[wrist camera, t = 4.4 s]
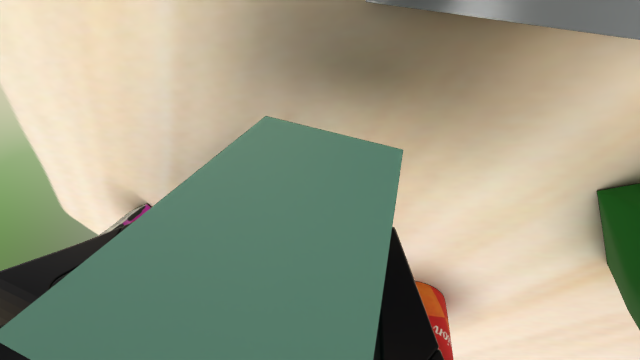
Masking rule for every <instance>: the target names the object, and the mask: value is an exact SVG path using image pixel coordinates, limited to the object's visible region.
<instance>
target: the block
mask: <svg viewBox="0 0 640 360" xmlns="http://www.w3.org/2000/svg"><path fill="white" fill-rule="evenodd" d="M402 155H403V150H402V149H398V148H394V147H390V146H386V145H382V144H378V143H374V142H370V141H365V140H361V139H357V138H353V137H349V136H345V135H341V134H337V133H333V132H329V131H325V130H321V129H317V128H313V127H309V126H304V125H300V124H296V123H292V122H288V121H284V120H280V119H276V118H272V117H268V116H265V117H264V118H263V119H261V120H260V121H259V122H258V123H256V124H255V125H254V126H253V127H251V128H250V129H249V130H248V131H246V132H245V133H244V134H243V135H241V136H240V137H239V138H238V139H236V140H235V141H234V142H233V143H231V144H230V145H229V146H228V147H226V148H225V149H224V150H223V151H221V152H220V153H219V154H218V155H216V156H215V157H214V158H213V159H212V160H210V161H209V162H208V163H207V164H205V165H204V166H203V167H202V168H200V169H199V170H198V171H197V172H195V173H194V174H193V175H192V176H190V177H189V178H188V179H187V180H185V181H184V182H183V183H182V184H180V185H179V186H178V187H177V188H175V189H174V190H173V191H172V192H170V193H169V194H168V195H167V196H165V197H164V198H163V199H162V200H160V201H159V202H158V203H157V204H155V205H154V206H153V207H152V208H150V209H149V210H148V211H147V212H145V213H144V214H143V215H142V216H140V217H139V218H138V219H137V220H135V221H134V222H133V223H132V224H130V225H129V226H128V227H127V228H125V229H124V230H123V231H122V232H120V233H119V234H118V235H117V236H115V237H114V238H113V239H112V240H110V241H109V242H108V243H107V244H105V245H104V246H103V247H102V248H100V249H99V250H98V251H97V252H95V253H94V254H93V255H92V256H90V257H89V258H88V259H87V260H85V261H84V262H83V263H82V264H80V265H79V266H78V267H77V268H75V269H74V270H73V271H72V272H70V273H69V274H68V275H67V276H65V277H64V278H63V279H62V280H61V281H59V282H58V283H57V284H56V285H54V286H53V287H52V288H51V289H49V290H48V291H47V292H46V293H44V294H43V295H42V296H41V297H39V298H38V299H37V300H36V301H34V302H33V303H32V304H31V305H29V306H28V307H27V308H26V309H24V310H23V311H22V312H21V313H19V314H18V315H17V316H16V317H14V318H13V319H12V320H11V321H9V322H8V323H7V324H6V325H4V326H3V327H2V328H1V329H0V343H2V344H3V345H5V346H7V347H9V348H11V349H12V350H14V351H16V352H18V353H19V354H21V355H23V356H25V357H27V358H28V359H30V360H373V358H374V351H375V344H376V337H377V330H378V323H379V316H380V309H381V302H382V295H383V288H384V281H385V274H386V267H387V260H388V253H389V246H390V239H391V232H392V225H393V218H394V211H395V204H396V197H397V190H398V183H399V176H400V169H401V162H402Z"/></svg>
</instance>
